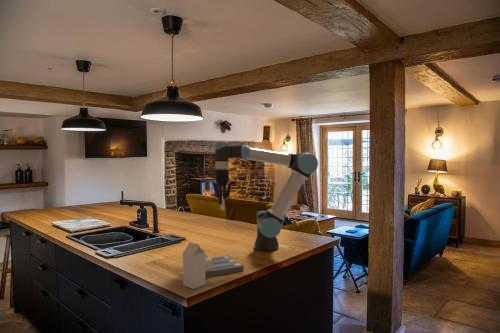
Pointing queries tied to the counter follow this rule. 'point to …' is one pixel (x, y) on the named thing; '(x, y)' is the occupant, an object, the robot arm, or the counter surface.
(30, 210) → the counter surface
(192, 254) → the milk carton
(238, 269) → the breaker panel
